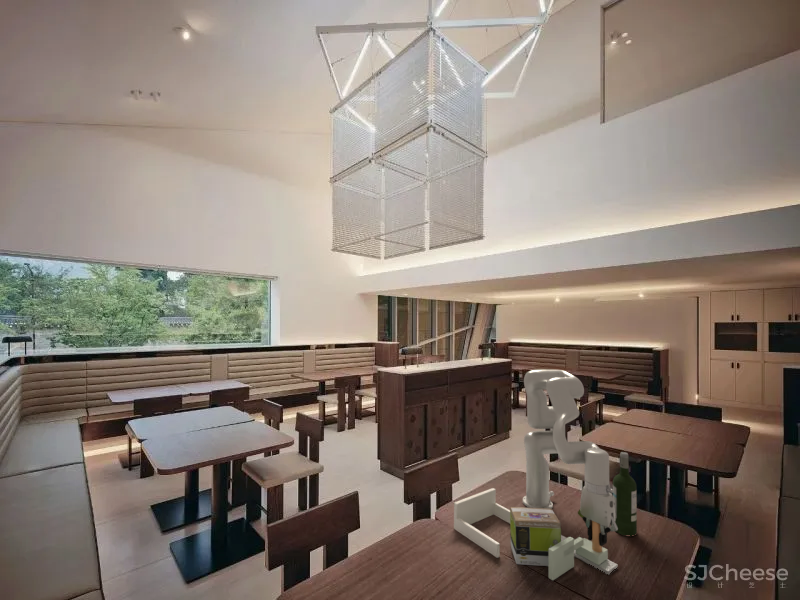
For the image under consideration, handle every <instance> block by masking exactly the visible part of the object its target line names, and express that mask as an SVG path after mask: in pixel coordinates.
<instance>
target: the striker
mask: <svg viewBox="0 0 800 600" xmlns="http://www.w3.org/2000/svg"><path fill="white" fill-rule="evenodd" d="M599 533H601V529H600V524H599V523H597V522H594V521H592V540H588V538H585V537H584V538H583V537H580V536H578V537H577V538H573V537H571V536H568V537H566V539H565V540H563V541H561V542H559V543H558V544H556V545H554V546H553V547H551V548H549V566H548V579H550V580H551V581H554V580H557V579H558V578H559V577H560V576H562V575H564V574H565V573H566V572H568V571H569V570H571V569H573V568H574V567H575V556H574V551H575V553H577V554H579V555H581V556H583V557H584V558H586V559H588V560H590V561H592V562H594V563H595V564H597V565H600V564H601V563H602V562H604V561H605V560H607V559H608V558H609V557H608V556H609V553H608V549H607V548H605V547H603V546H600V545H599ZM608 560H609V559H608Z"/></svg>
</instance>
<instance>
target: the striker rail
mask: <svg viewBox="0 0 800 600" xmlns="http://www.w3.org/2000/svg"><path fill="white" fill-rule="evenodd" d="M566 538H567V537H566V536H564V535H562V534H561V541H563V540H565V539H566ZM574 558H576V559H579V560H581V561H582V562H583V563H586V564H588V565H589V564H590V565H589V566H591V565H592V566H591V567H593V566H594V567H593V568H595V569H597V568H598V569H599V570H598V569H597V570H598V571H600V570H601V572H602V571H603V572H602V573H604V572H605V573H604V574H606V575H607V574H608V576H609V575H611V574H612V573H613V572H614V571H615V570H614V569H616V568H617V567H618V564H617V562H616V563H615V562H614V561H612V560H610V559H607V560H605V561H604V562H602V563H601V564H600V565H597V564H595V563H594V562H592V561H590V560H588V559H586V558H584V557H583V556H581V555H579V554H577V553H575V551H574ZM618 568H619V567H618ZM618 568H617V569H618ZM617 569H616V570H617ZM613 570H614V571H613ZM612 571H613V572H612ZM611 572H612V573H611ZM610 573H611V574H610Z"/></svg>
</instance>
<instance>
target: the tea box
mask: <svg viewBox="0 0 800 600" xmlns="http://www.w3.org/2000/svg"><path fill="white" fill-rule="evenodd" d="M509 510H510V523H509V524H510V529H509V530H510V531H509V532H510V534H509V535H510V536H509V537H510V547H511V548H510V549H511V552H512V554H513V557H514V561H515V563H516V565H527V566H539V567H549V548H551V547H553V546H554V545H556V544H558V543H559V542H561V535H562V529H561V528H562V527H561V525H562V524H561V523H562V522H560V520H559V519H558V517H557V515H556V513H555V512H554V511H553V508H552V509H547V508H529V507H524V506H523V507H522V506H519V507H518V506H510V507H509Z"/></svg>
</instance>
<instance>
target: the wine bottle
mask: <svg viewBox="0 0 800 600" xmlns="http://www.w3.org/2000/svg"><path fill="white" fill-rule="evenodd" d="M619 456H620V457H619V458H620V460H619V461H620V463H619V473H618V474H616V475H614V477H613V479H612V489H613V493H612V496H613V500H614V506H615V519H616V520H615V523H616V525H617V528H618V530H617V531H615V532H616V533H617V534H618V533H619V534H618V535H621V534H622V535H621V536H623V535H630V536H632V535H635V534H636V533H637V534H638V525H637V521H638V520H637V518H638V517H637V515H638V514H637V512H638V511H637V505H638V504H637V503H638V501H637V483H636V480H634V478H633V477H632V476H631V475H630V472H629V471H630V469H629V467H630V466H629V454H628V452H626V451H625V452H624V451H621V452H620V454H619ZM637 534H636V535H637Z"/></svg>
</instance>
